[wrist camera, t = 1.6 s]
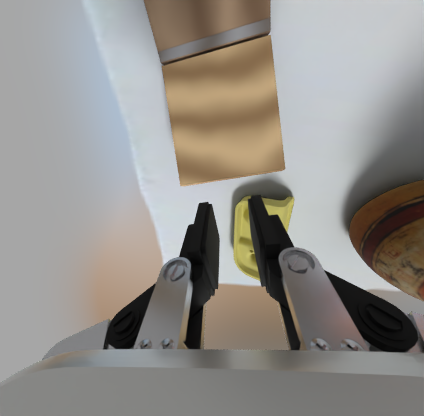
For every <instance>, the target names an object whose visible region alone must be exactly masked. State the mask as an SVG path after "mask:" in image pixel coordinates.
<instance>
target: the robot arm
mask: <svg viewBox="0 0 424 416" xmlns="http://www.w3.org/2000/svg"><path fill="white" fill-rule="evenodd" d="M248 210H249V221H250V232H251V239H252V243H253V248H254V253H255V258H256V263H257V267H258V272H259V277H260V282H261V286H262V287H264V286H266V291H267V293H269V294H270V296H271V297H272V298H274V299H275V300H276V301H277V304H278V308H279V312H280V316H281V320H282V324H283V328H284V333H285V337H286V341H287V345H288V349H289V350H204V335H205V318H206V302H207V301H208V300H209V299H210V297H211V295H212V296H213V295H214V294H215V289H218V276H219V242H220V240H219V233H218V229H217V225H216V220H215V216H214V212H213V207H212V204H209V203H208V202H204V203H199V205H198V209H197V213H196V217H195V221H194V224H191V225H189V226H188V228H187V232H186V235H185V238H184V242H183V245H182V249H181V252H180V256H179V257H177V258H174V259H172V260H170V261H168V262H167V263H166V264H165V265H164V266H163V267H162V269H161V271H160V274H159V277H158V279H157V282H156V284H154V285H153V286H151V287H150V288H149V289H147V290H146V291H145V292H144V293H142V294H141V295H140V296H139V297H137V298H136V299H135V300H133V301H132V302H131V303H130V304H128V305H127V306H126V307H124V308H123V309H122V310H121V311H120V312H118V313H117V314H116V316H115V317H114V318H113V319H112V320H110V319H107V320H105V321H103V322H101V323H98V324H96V325H94V326H92V327H90V328H88V329H86V330H83V331H81V332H79V333H77V334H74V335H72V336H70V337H68V338H66V339H64V340H62V341H60V342H59V343H57V344H56V345H55V346H54V347H52V348H51V349H50V350H49V351H48V353H47V354H46V355H45V356H44V358H43V359H42V361H39V362H37V363H35V364H33V365H31V366H29V367H27V368H25V369H23V370H21V371H19V372H18V373H16V374H14V375H12V376H11V377H9V378H7V379H6V380H4V381H3V382H1V383H0V416H424V315H422V314H418V313H415V312H411V313H409V314H407V313H404V312H402V311H401V310H400V309H398V308H397V307H396V306H394V305H392V304H391V303H389V302H387V301H385V300H383V299H382V298H379V297H377V296H375V295H373V294H371V293H369V292H367V291H365V290H363V289H361V288H359V287H357V286H355V285H353V284H351V283H349V282H347V281H345V280H343V279H341V278H339V277H337V276H335V275H333V274H331V273H329V272H327V271H325V270H323V268H322V266H321V264H320V263H319V261H318V259H317V258H316V257H315V255H313V254H312V253H311V252H309V251H307V250H305V249H301V248H295V247H294V246H293V244H292V242H291V240H290V238H289V236H288V234H287V232H286V229H285V227H284V225H283V223H282V221H281V219H280V217H279V216H278V215H277V214H275V215H269V214H268V212H267V210H266V207H265V205H264V202H263V200H262V197H261V195H255V196H251V198H250V199H248Z"/></svg>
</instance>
